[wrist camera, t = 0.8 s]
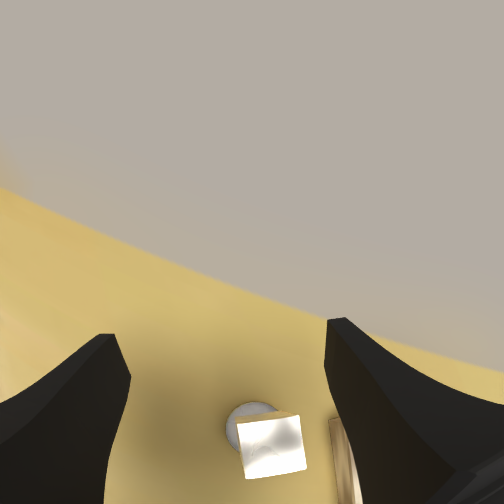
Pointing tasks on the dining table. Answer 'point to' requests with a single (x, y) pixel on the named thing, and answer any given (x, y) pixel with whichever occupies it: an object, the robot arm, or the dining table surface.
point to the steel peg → (266, 439)
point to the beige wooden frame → (344, 465)
